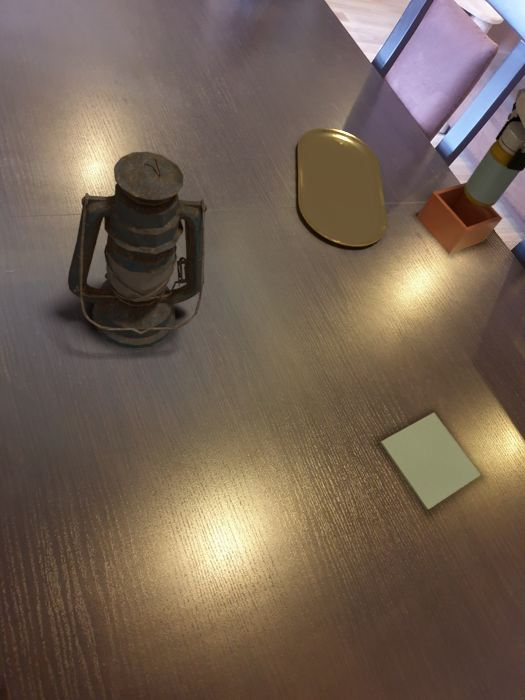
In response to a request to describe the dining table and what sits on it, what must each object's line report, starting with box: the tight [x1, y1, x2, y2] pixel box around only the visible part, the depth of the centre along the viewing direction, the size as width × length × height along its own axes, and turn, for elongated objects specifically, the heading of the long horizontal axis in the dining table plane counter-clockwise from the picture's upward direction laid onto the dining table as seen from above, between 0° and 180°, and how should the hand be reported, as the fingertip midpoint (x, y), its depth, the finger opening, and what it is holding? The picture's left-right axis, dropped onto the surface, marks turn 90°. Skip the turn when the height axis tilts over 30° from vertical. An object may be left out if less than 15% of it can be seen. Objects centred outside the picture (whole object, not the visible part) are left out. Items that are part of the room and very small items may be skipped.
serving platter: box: [297, 127, 388, 248], centre depth 118 cm, size 19×35×2 cm, turn 179°
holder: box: [416, 181, 503, 255], centre depth 118 cm, size 11×11×7 cm
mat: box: [379, 412, 481, 512], centre depth 89 cm, size 12×12×1 cm
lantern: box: [67, 151, 208, 350], centre depth 77 cm, size 19×14×30 cm
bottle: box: [464, 121, 525, 207], centre depth 106 cm, size 7×7×15 cm
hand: (508, 154), depth 104 cm, fingers closed on bottle, 7 cm apart
